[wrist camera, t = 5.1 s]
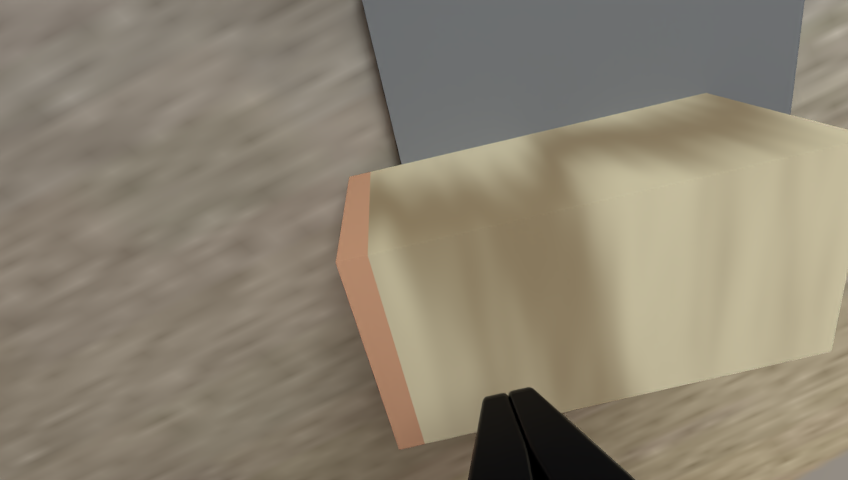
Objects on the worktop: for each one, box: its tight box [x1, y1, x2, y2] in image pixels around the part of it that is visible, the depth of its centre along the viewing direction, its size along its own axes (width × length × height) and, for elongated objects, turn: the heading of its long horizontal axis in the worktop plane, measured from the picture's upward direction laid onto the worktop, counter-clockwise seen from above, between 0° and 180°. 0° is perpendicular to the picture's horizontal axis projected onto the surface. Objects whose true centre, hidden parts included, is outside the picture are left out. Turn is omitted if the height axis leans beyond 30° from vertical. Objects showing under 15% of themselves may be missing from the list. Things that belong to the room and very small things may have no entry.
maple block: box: [336, 93, 848, 450], centre depth 12 cm, size 5×5×10 cm
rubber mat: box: [362, 0, 805, 164], centre depth 15 cm, size 11×14×1 cm
